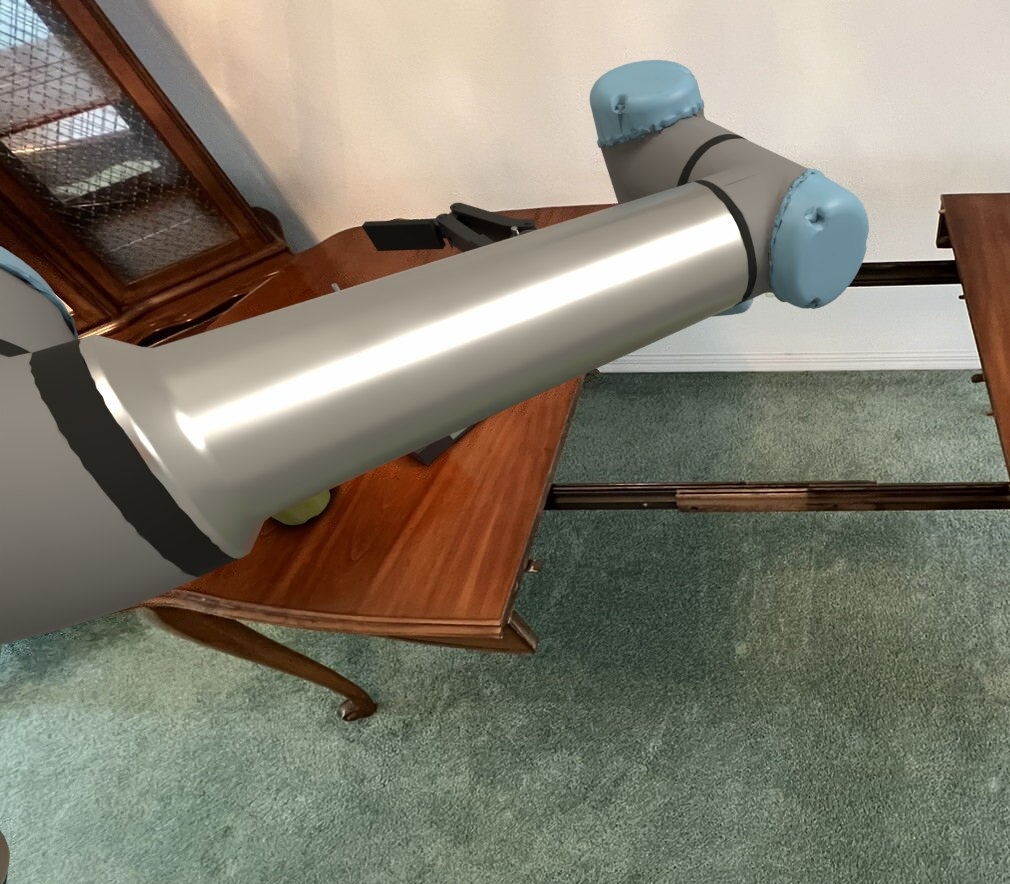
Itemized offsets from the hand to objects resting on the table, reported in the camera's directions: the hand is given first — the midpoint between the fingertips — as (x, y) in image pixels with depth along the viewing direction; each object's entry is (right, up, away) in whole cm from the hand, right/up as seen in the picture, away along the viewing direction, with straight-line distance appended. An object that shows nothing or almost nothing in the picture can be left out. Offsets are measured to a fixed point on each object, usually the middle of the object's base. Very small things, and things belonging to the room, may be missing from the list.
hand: (336, 281), depth 58 cm
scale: (-10, -10, +34) cm, 37 cm away
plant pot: (-21, -22, +25) cm, 40 cm away
